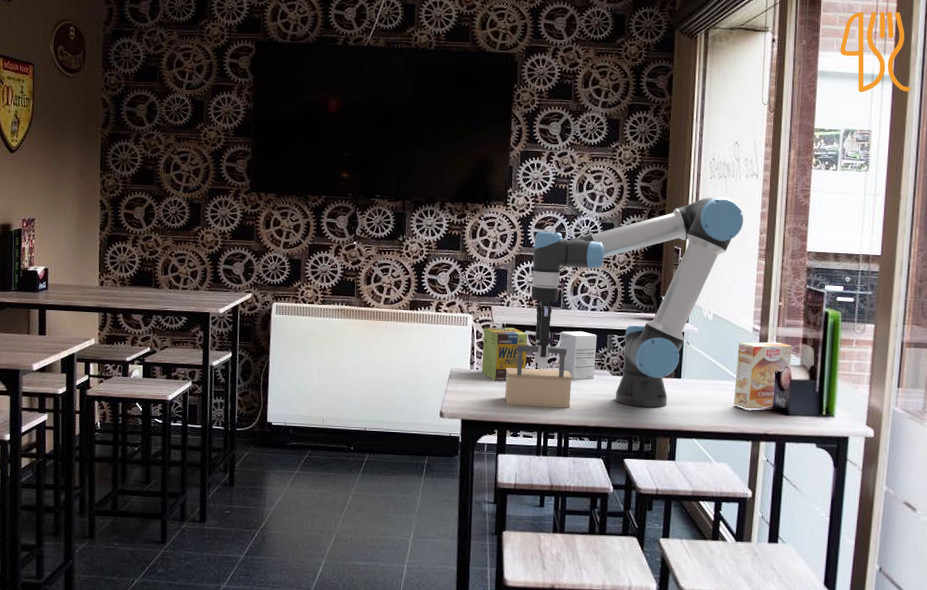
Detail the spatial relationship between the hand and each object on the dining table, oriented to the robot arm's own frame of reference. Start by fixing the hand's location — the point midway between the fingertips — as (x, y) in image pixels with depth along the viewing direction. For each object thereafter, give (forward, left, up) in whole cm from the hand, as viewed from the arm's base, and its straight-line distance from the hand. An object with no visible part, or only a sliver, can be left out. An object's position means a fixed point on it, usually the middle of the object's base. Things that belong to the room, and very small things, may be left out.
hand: (540, 365), depth 280 cm
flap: (0, -5, -4) cm, 6 cm away
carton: (0, -6, -12) cm, 13 cm away
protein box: (+8, -46, -12) cm, 48 cm away
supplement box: (-17, -52, -12) cm, 56 cm away
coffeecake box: (-68, -14, -12) cm, 70 cm away
